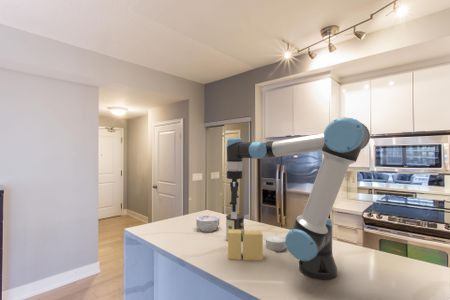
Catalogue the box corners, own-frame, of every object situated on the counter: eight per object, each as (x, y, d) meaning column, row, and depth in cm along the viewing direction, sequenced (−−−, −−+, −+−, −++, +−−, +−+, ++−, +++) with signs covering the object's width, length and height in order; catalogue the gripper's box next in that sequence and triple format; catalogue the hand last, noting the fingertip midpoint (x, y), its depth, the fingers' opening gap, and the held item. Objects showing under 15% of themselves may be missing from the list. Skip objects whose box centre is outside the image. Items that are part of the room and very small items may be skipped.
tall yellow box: (261, 255, 113) (261, 230, 113) (262, 260, 107) (262, 234, 107) (242, 254, 113) (242, 230, 113) (243, 260, 108) (242, 233, 108)
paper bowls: (206, 224, 163) (206, 213, 164) (224, 228, 155) (224, 216, 155) (191, 230, 151) (191, 218, 151) (209, 235, 142) (209, 222, 142)
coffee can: (245, 238, 137) (244, 214, 138) (242, 244, 127) (242, 219, 127) (228, 236, 139) (227, 213, 140) (224, 243, 129) (224, 218, 129)
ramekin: (261, 248, 122) (261, 238, 122) (272, 242, 130) (272, 233, 131) (280, 254, 115) (280, 244, 115) (290, 248, 123) (290, 238, 123)
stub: (241, 254, 113) (241, 229, 113) (241, 259, 108) (241, 233, 108) (228, 253, 114) (228, 229, 114) (228, 259, 108) (228, 233, 108)
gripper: (228, 168, 124) (228, 208, 124) (224, 172, 99) (224, 222, 99) (242, 168, 124) (242, 208, 123) (242, 172, 99) (242, 222, 98)
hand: (234, 214), depth 111 cm, fingers open, 13 cm apart
